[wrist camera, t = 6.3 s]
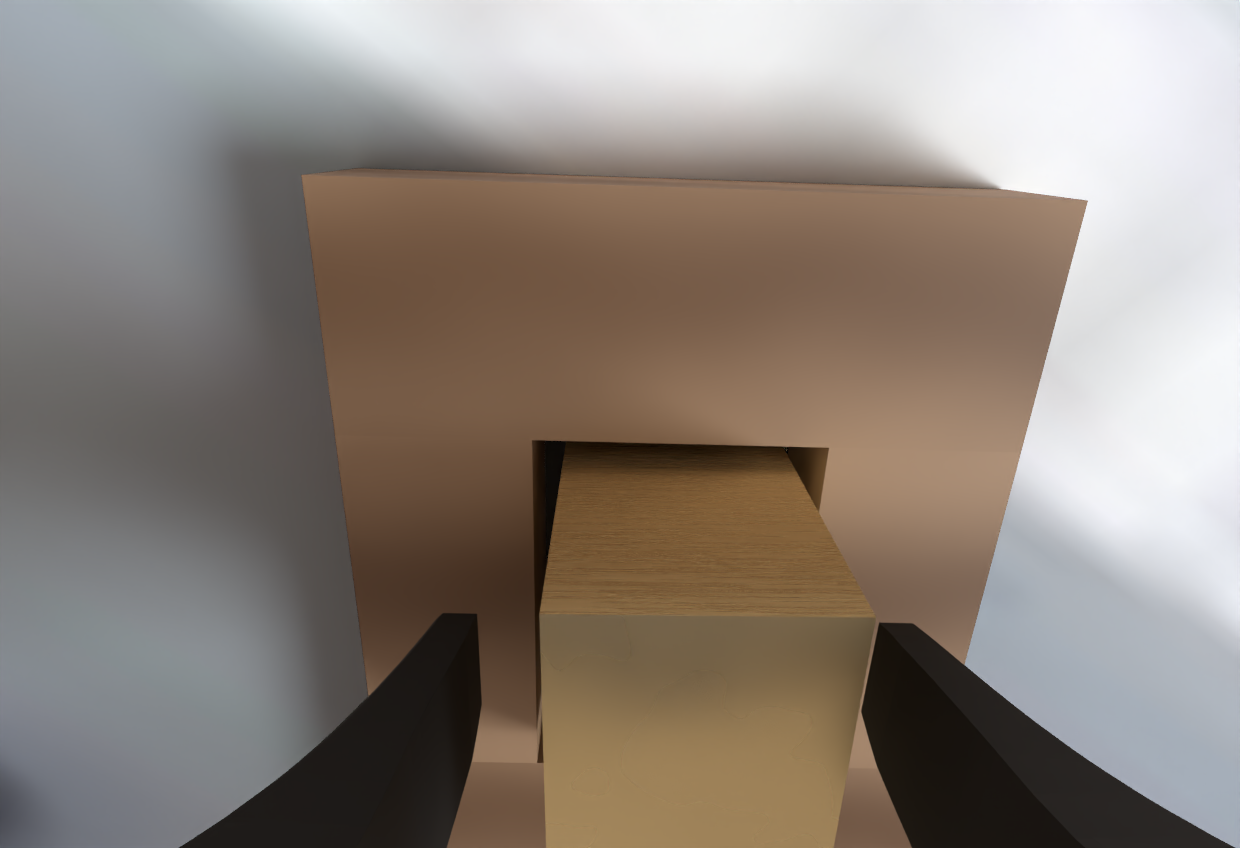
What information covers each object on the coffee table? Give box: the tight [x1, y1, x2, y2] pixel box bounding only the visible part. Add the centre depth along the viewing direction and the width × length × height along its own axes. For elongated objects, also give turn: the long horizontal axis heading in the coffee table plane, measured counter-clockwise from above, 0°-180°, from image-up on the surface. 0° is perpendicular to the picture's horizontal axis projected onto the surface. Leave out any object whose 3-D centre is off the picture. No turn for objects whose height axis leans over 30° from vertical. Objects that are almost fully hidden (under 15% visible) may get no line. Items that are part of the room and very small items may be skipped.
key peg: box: [539, 441, 876, 848], centre depth 13 cm, size 4×6×7 cm, turn 179°
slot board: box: [301, 168, 1088, 848], centre depth 15 cm, size 16×12×2 cm
